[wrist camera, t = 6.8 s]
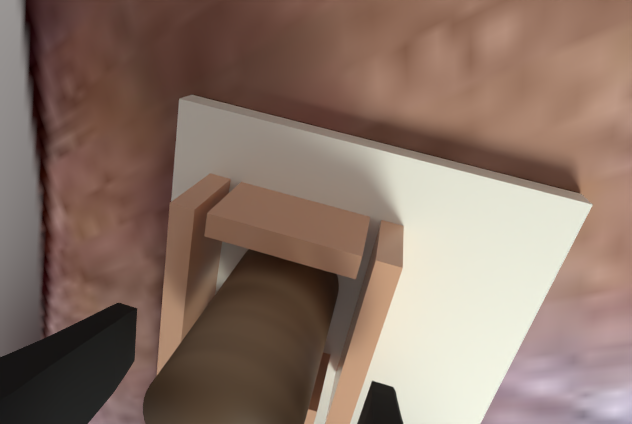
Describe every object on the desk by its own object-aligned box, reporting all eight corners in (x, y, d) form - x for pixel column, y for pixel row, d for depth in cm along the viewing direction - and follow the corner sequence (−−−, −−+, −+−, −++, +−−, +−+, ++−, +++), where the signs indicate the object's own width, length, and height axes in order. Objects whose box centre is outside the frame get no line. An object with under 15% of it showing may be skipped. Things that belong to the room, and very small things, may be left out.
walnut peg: (326, 336, 18) (282, 505, 12) (232, 308, 18) (139, 458, 12) (349, 252, 16) (312, 395, 10) (246, 223, 17) (146, 343, 10)
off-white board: (408, 541, 23) (408, 562, 22) (159, 457, 24) (149, 473, 23) (581, 193, 15) (592, 204, 14) (191, 94, 16) (179, 98, 15)
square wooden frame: (354, 377, 18) (344, 438, 16) (192, 328, 19) (156, 377, 16) (403, 225, 15) (402, 268, 13) (209, 173, 16) (170, 202, 13)
